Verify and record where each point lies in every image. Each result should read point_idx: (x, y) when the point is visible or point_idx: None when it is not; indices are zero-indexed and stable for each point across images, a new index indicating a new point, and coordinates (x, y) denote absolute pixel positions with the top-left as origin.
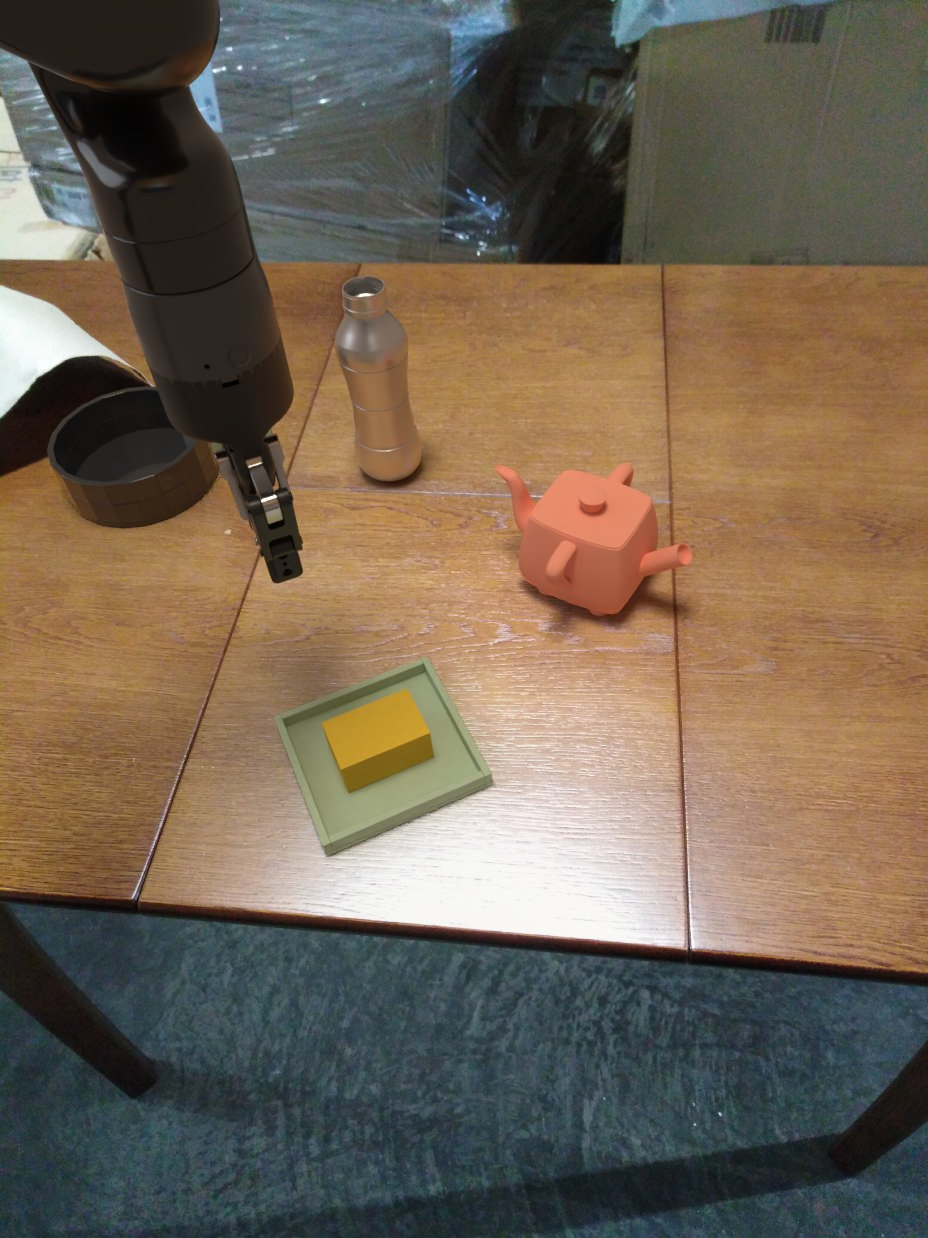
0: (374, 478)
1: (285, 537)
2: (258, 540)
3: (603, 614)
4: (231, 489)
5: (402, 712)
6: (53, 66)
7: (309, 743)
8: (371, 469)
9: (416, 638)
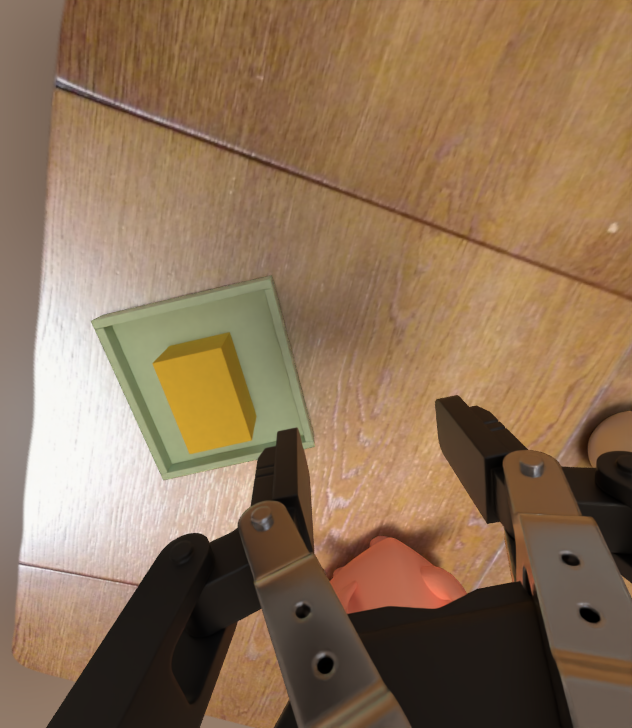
0: (604, 420)
1: (198, 628)
2: (177, 590)
3: (333, 575)
4: (288, 694)
5: (220, 432)
6: None
7: (238, 311)
8: (614, 429)
9: (355, 428)
